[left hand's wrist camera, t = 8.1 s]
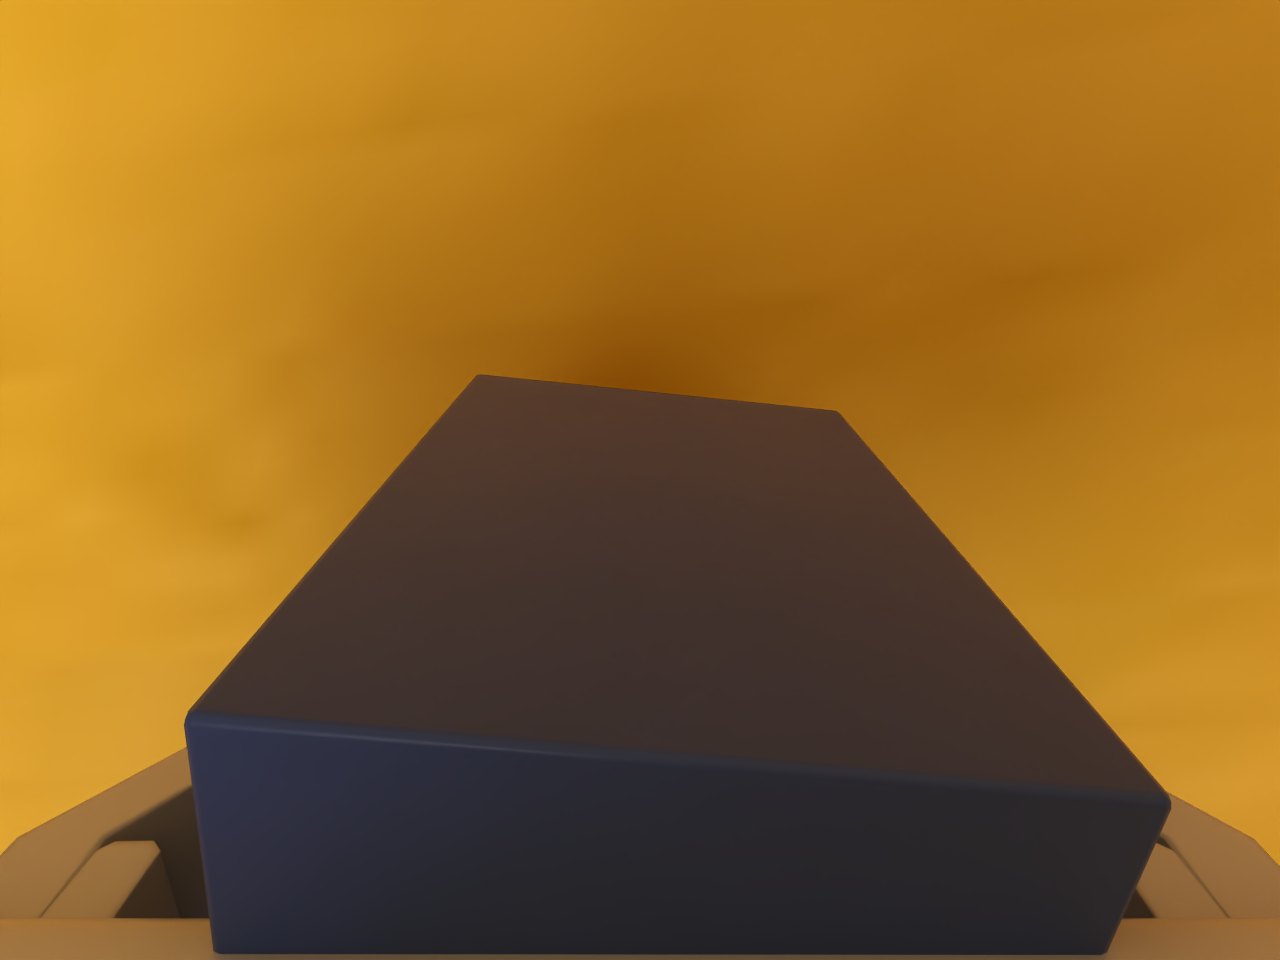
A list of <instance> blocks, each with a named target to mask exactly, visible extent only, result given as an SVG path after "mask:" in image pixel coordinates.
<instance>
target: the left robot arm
mask: <svg viewBox="0 0 1280 960" xmlns="http://www.w3.org/2000/svg"><path fill="white" fill-rule="evenodd" d="M1166 792H1167V791H1166ZM1167 793H1168V792H1167ZM1168 795H1169V797H1170V799H1171V811H1170V813H1169V815H1168V818H1167V820H1166V822H1165V824H1164V826H1163V829H1162V831H1161V833H1160V835H1159V838H1158V840H1157V842H1156V844H1155V847H1154V849H1153V851H1152V853H1151V855H1150V858H1149V860H1148V862H1147V864H1146V867H1145V869H1144V871H1143V873H1142V876H1141V878H1140V880H1139V882H1138V884H1137V887H1136V889H1135V891H1134V893H1133V896H1132V898H1131V900H1130V902H1129V904H1128V907H1127V909H1126V911H1125V913H1124V916H1123V918H1122V920H1121V922H1120V925H1119V927H1118V929H1117V931H1116V933H1115V936H1114V938H1113V940H1112V942H1111V945H1110V947H1109V949H1108V951H1107V953H1104V954H1102V955H594V954H219V953H216V952H214V951H213V944H212V936H211V928H210V921H209V913H208V905H207V897H206V890H205V882H204V874H203V867H202V859H201V851H200V844H199V836H198V828H197V820H196V813H195V805H194V797H193V790H192V782H191V774H190V767H189V759H188V751H187V747H186V748H184V749H182V750H180V751H178V752H176V753H174V754H173V755H171V756H169V757H167V758H165V759H163V760H161V761H160V762H158V763H156V764H154V765H152V766H150V767H148V768H146V769H145V770H143V771H141V772H139V773H137V774H135V775H133V776H132V777H130V778H128V779H126V780H124V781H122V782H120V783H118V784H117V785H115V786H113V787H111V788H109V789H107V790H105V791H104V792H102V793H100V794H98V795H96V796H94V797H92V798H90V799H89V800H87V801H85V802H83V803H81V804H79V805H77V806H76V807H74V808H72V809H70V810H68V811H66V812H64V813H62V814H61V815H59V816H57V817H55V818H53V819H51V820H49V821H48V822H46V823H44V824H42V825H40V826H38V827H36V828H34V829H33V830H31V831H29V832H27V833H25V834H23V835H21V836H20V837H18V838H17V839H16V840H15V841H14V842H13V843H12V844H11V845H10V846H9V847H8V848H7V849H6V850H5V851H4V852H3V853H2V854H1V855H0V960H1280V866H1279V865H1278V864H1277V863H1276V862H1275V861H1274V860H1273V859H1272V858H1271V857H1270V856H1269V855H1268V853H1267V852H1266V851H1265V850H1264V849H1263V848H1262V847H1261V846H1260V845H1259V844H1258V843H1257V842H1256V841H1255V839H1253V838H1251V837H1250V836H1248V835H1246V834H1244V833H1242V832H1240V831H1239V830H1237V829H1235V828H1233V827H1231V826H1229V825H1227V824H1226V823H1224V822H1222V821H1220V820H1218V819H1216V818H1215V817H1213V816H1211V815H1209V814H1207V813H1205V812H1203V811H1202V810H1200V809H1198V808H1196V807H1194V806H1192V805H1191V804H1189V803H1187V802H1185V801H1183V800H1181V799H1180V798H1178V797H1176V796H1174V795H1172V794H1170V793H1168Z"/></svg>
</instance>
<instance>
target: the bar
mask: <svg viewBox="0 0 1280 960" xmlns="http://www.w3.org/2000/svg"><path fill="white" fill-rule="evenodd" d="M184 728H185V736H186V743H187V751H188V759H189V767H190V774H191V782H192V790H193V797H194V805H195V813H196V820H197V828H198V836H199V844H200V851H201V859H202V867H203V874H204V882H205V890H206V897H207V905H208V913H209V921H210V928H211V936H212V944H213V951H214V952H216V953H219V954H594V955H1102V954H1104V953H1107V951H1108V949H1109V947H1110V945H1111V942H1112V940H1113V938H1114V936H1115V933H1116V931H1117V929H1118V927H1119V925H1120V922H1121V920H1122V918H1123V916H1124V913H1125V911H1126V909H1127V907H1128V904H1129V902H1130V900H1131V898H1132V896H1133V893H1134V891H1135V889H1136V887H1137V884H1138V882H1139V880H1140V878H1141V876H1142V873H1143V871H1144V869H1145V867H1146V864H1147V862H1148V860H1149V858H1150V855H1151V853H1152V851H1153V849H1154V847H1155V844H1156V842H1157V840H1158V838H1159V835H1160V833H1161V831H1162V829H1163V826H1164V824H1165V822H1166V820H1167V818H1168V815H1169V813H1170V811H1171V799H1170V797H1169V795H1168V793H1167V792H1166V791H1165V790H1164V789H1163V788H1162V786H1161V785H1160V784H1159V783H1158V782H1157V781H1156V780H1155V778H1154V777H1153V776H1152V775H1151V774H1150V773H1149V771H1148V770H1147V769H1146V768H1145V767H1144V766H1143V764H1142V763H1141V762H1140V761H1139V760H1138V759H1137V758H1136V756H1135V755H1134V754H1133V753H1132V752H1131V751H1130V749H1129V748H1128V747H1127V746H1126V745H1125V744H1124V742H1123V741H1122V740H1121V739H1120V738H1119V737H1118V736H1117V734H1116V733H1115V732H1114V731H1113V730H1112V729H1111V727H1110V726H1109V725H1108V724H1107V723H1106V722H1105V720H1104V719H1103V718H1102V717H1101V716H1100V715H1099V714H1098V712H1097V711H1096V710H1095V709H1094V708H1093V707H1092V705H1091V704H1090V703H1089V702H1088V701H1087V700H1086V698H1085V697H1084V696H1083V695H1082V694H1081V693H1080V691H1079V690H1078V689H1077V688H1076V687H1075V686H1074V685H1073V683H1072V682H1071V681H1070V680H1069V679H1068V678H1067V676H1066V675H1065V674H1064V673H1063V672H1062V671H1061V669H1060V668H1059V667H1058V666H1057V665H1056V664H1055V663H1054V661H1053V660H1052V659H1051V658H1050V657H1049V656H1048V654H1047V653H1046V652H1045V651H1044V650H1043V649H1042V647H1041V646H1040V645H1039V644H1038V643H1037V642H1036V641H1035V639H1034V638H1033V637H1032V636H1031V635H1030V634H1029V632H1028V631H1027V630H1026V629H1025V628H1024V627H1023V625H1022V624H1021V623H1020V622H1019V621H1018V620H1017V618H1016V617H1015V616H1014V615H1013V614H1012V613H1011V612H1010V610H1009V609H1008V608H1007V607H1006V606H1005V605H1004V603H1003V602H1002V601H1001V600H1000V599H999V598H998V596H997V595H996V594H995V593H994V592H993V591H992V590H991V588H990V587H989V586H988V585H987V584H986V583H985V581H984V580H983V579H982V578H981V577H980V576H979V574H978V573H977V572H976V571H975V570H974V569H973V568H972V566H971V565H970V564H969V563H968V562H967V561H966V559H965V558H964V557H963V556H962V555H961V554H960V552H959V551H958V550H957V549H956V548H955V547H954V546H953V544H952V543H951V542H950V541H949V540H948V539H947V537H946V536H945V535H944V534H943V533H942V532H941V530H940V529H939V528H938V527H937V526H936V525H935V523H934V522H933V521H932V520H931V519H930V518H929V517H928V515H927V514H926V513H925V512H924V511H923V510H922V508H921V507H920V506H919V505H918V504H917V503H916V501H915V500H914V499H913V498H912V497H911V496H910V495H909V493H908V492H907V491H906V490H905V489H904V488H903V486H902V485H901V484H900V483H899V482H898V481H897V479H896V478H895V477H894V476H893V475H892V474H891V473H890V471H889V470H888V469H887V468H886V467H885V466H884V464H883V463H882V462H881V461H880V460H879V459H878V457H877V456H876V455H875V454H874V453H873V452H872V450H871V449H870V448H869V447H868V446H867V445H866V444H865V442H864V441H863V440H862V439H861V438H860V437H859V435H858V434H857V433H856V432H855V431H854V430H853V428H852V427H851V426H850V425H849V424H848V423H847V422H846V420H845V419H844V418H843V417H842V416H841V415H840V413H839V412H837V411H832V410H822V409H812V408H803V407H793V406H783V405H773V404H764V403H754V402H744V401H734V400H724V399H715V398H705V397H695V396H685V395H676V394H666V393H656V392H646V391H636V390H627V389H617V388H607V387H597V386H588V385H578V384H568V383H558V382H548V381H539V380H529V379H519V378H509V377H500V376H490V375H476V377H475V378H474V379H473V380H472V381H471V382H470V384H469V385H468V386H467V387H466V388H465V389H464V391H463V392H462V393H461V394H460V395H459V396H458V398H457V399H456V400H455V401H454V402H453V403H452V405H451V406H450V407H449V408H448V409H447V410H446V412H445V413H444V414H443V415H442V416H441V417H440V418H439V420H438V421H437V422H436V423H435V424H434V425H433V427H432V428H431V429H430V430H429V431H428V432H427V434H426V435H425V436H424V437H423V438H422V439H421V441H420V442H419V443H418V444H417V445H416V446H415V448H414V449H413V450H412V451H411V452H410V453H409V455H408V456H407V457H406V458H405V459H404V460H403V462H402V463H401V464H400V465H399V466H398V467H397V469H396V470H395V471H394V472H393V473H392V474H391V476H390V477H389V478H388V479H387V480H386V481H385V483H384V484H383V485H382V486H381V487H380V488H379V490H378V491H377V492H376V493H375V494H374V495H373V497H372V498H371V499H370V500H369V501H368V502H367V504H366V505H365V506H364V507H363V508H362V509H361V511H360V512H359V513H358V514H357V515H356V516H355V518H354V519H353V520H352V521H351V522H350V523H349V525H348V526H347V527H346V528H345V529H344V530H343V531H342V533H341V534H340V535H339V536H338V537H337V538H336V540H335V541H334V542H333V543H332V544H331V545H330V547H329V548H328V549H327V550H326V551H325V552H324V554H323V555H322V556H321V557H320V558H319V559H318V561H317V562H316V563H315V564H314V565H313V566H312V568H311V569H310V570H309V571H308V572H307V573H306V575H305V576H304V577H303V578H302V579H301V580H300V582H299V583H298V584H297V585H296V586H295V587H294V589H293V590H292V591H291V592H290V593H289V594H288V596H287V597H286V598H285V599H284V600H283V601H282V603H281V604H280V605H279V606H278V607H277V608H276V610H275V611H274V612H273V613H272V614H271V615H270V617H269V618H268V619H267V620H266V621H265V622H264V624H263V625H262V626H261V627H260V628H259V629H258V631H257V632H256V633H255V634H254V635H253V636H252V638H251V639H250V640H249V641H248V642H247V643H246V644H245V646H244V647H243V648H242V649H241V650H240V651H239V653H238V654H237V655H236V656H235V657H234V658H233V660H232V661H231V662H230V663H229V664H228V665H227V667H226V668H225V669H224V670H223V671H222V672H221V674H220V675H219V676H218V677H217V678H216V679H215V681H214V682H213V683H212V684H211V685H210V686H209V688H208V689H207V690H206V691H205V692H204V693H203V695H202V696H201V697H200V698H199V699H198V700H197V702H196V703H195V704H194V705H193V706H192V707H191V709H190V710H189V711H188V713H187V716H186V718H185V723H184Z"/></svg>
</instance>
